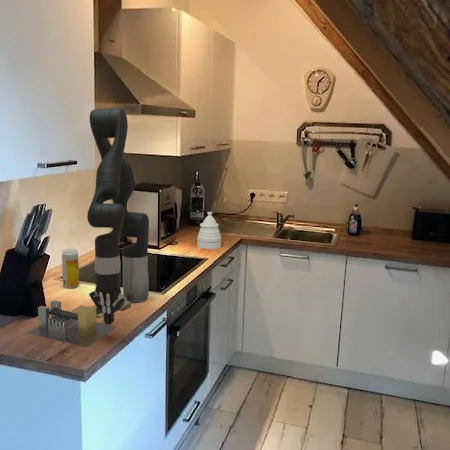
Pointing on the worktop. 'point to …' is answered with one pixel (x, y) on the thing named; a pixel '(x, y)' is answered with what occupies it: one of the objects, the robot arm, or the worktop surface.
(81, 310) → the gold block
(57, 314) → the strap
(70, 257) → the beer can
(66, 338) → the heatsink base
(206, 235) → the honey pot
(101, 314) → the computer
